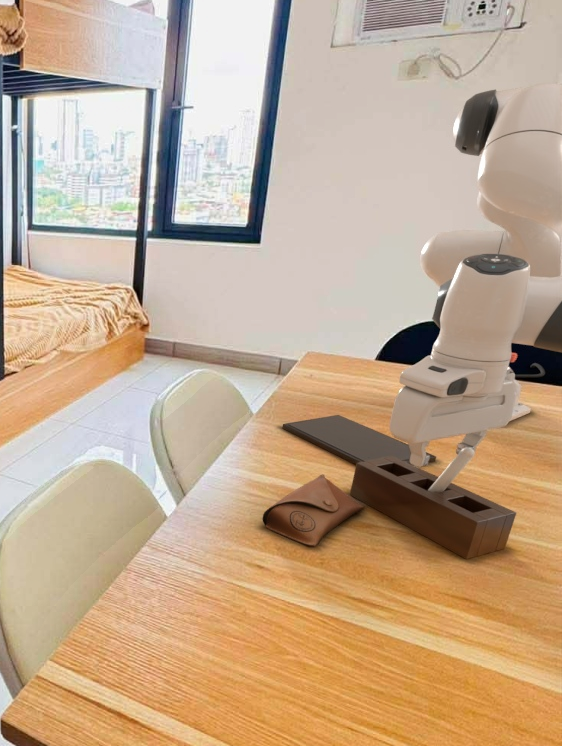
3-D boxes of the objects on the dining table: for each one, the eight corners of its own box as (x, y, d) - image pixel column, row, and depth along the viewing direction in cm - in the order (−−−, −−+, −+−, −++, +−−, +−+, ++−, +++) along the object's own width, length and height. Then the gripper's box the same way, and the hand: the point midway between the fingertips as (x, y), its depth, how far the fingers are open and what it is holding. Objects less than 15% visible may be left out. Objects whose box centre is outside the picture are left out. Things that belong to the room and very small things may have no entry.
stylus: (417, 511, 100) (473, 445, 90) (422, 519, 98) (479, 453, 89) (407, 510, 100) (462, 444, 90) (411, 518, 98) (468, 452, 89)
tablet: (337, 418, 136) (338, 414, 136) (435, 461, 116) (436, 455, 116) (281, 428, 132) (282, 423, 131) (374, 473, 112) (375, 468, 112)
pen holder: (384, 487, 108) (392, 455, 105) (505, 548, 90) (517, 512, 88) (349, 494, 105) (356, 462, 103) (466, 559, 88) (477, 522, 86)
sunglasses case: (317, 547, 90) (300, 503, 91) (273, 550, 96) (256, 508, 96) (368, 506, 101) (352, 466, 101) (325, 510, 106) (310, 473, 107)
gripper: (493, 358, 95) (469, 441, 99) (391, 373, 89) (371, 461, 93) (540, 370, 89) (512, 458, 94) (434, 387, 83) (411, 480, 88)
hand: (441, 460), depth 94 cm, fingers open, 8 cm apart
